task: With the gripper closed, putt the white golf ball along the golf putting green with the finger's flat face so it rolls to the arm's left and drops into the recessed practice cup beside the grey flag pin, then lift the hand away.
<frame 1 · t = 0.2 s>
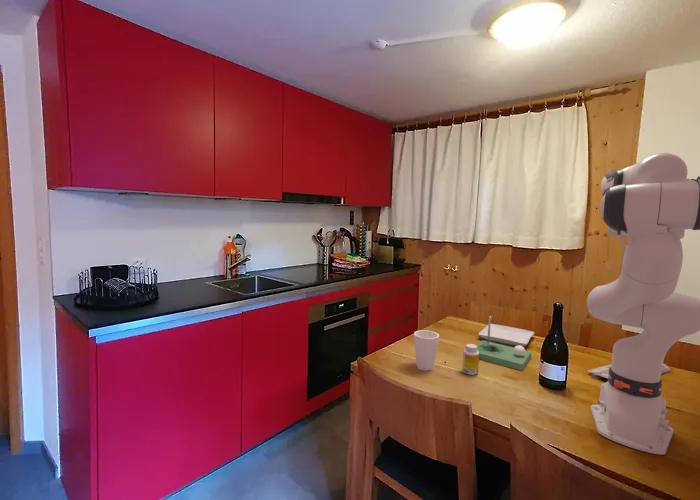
hand: (641, 250, 122), 47 cm above the table, fingers open, 8 cm apart
golf putting green: (500, 357, 146), on the table
supplement bottle: (470, 372, 132), on the table
flag pin: (487, 348, 156), resting on golf putting green
ball: (519, 350, 142), point 5 cm above the table, touching golf putting green
foam cup: (425, 367, 136), on the table
salad plate: (506, 339, 168), on the table
newspaper: (628, 374, 134), on the table
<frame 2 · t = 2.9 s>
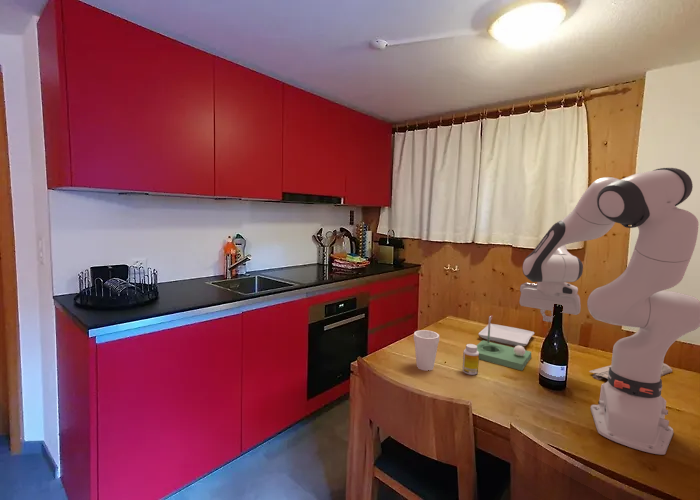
hand: (547, 321, 135), 19 cm above the table, fingers closed
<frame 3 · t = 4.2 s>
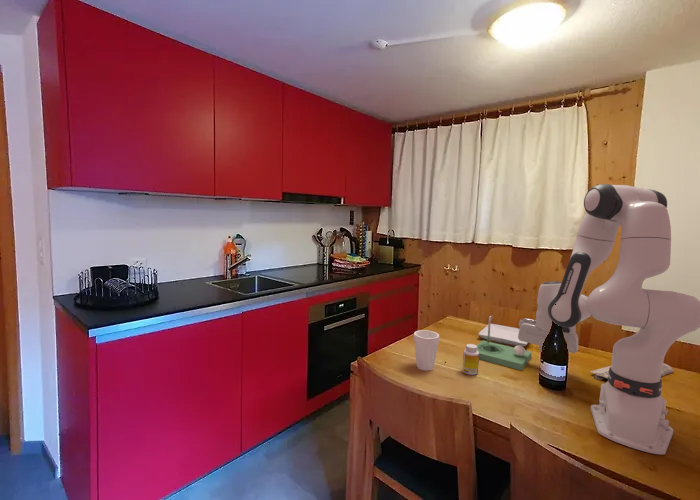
hand: (545, 357, 137), 4 cm above the table, fingers closed
nothing on the table moved.
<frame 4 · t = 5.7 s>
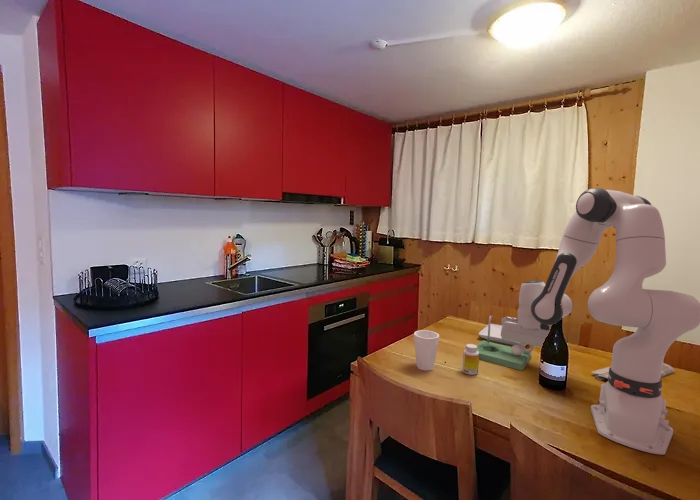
hand: (527, 354, 140), 4 cm above the table, fingers closed
ball: (516, 350, 142), point 5 cm above the table, tilted 25°, touching golf putting green
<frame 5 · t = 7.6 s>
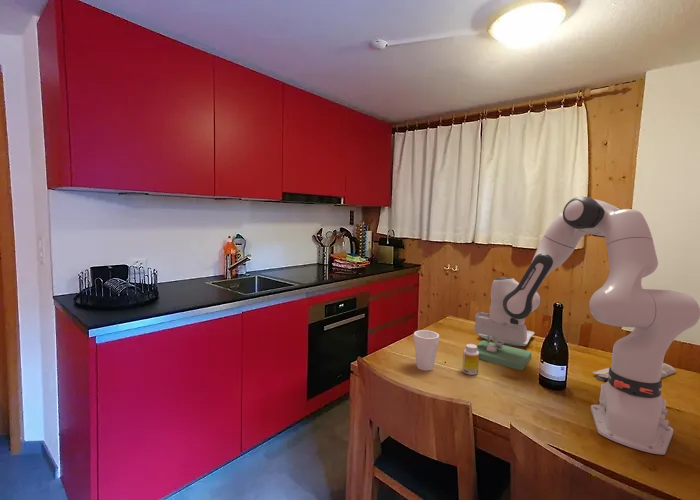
hand: (498, 347, 147), 4 cm above the table, fingers closed
ball: (491, 349, 149), point 2 cm above the table, tilted 43°, touching gripper
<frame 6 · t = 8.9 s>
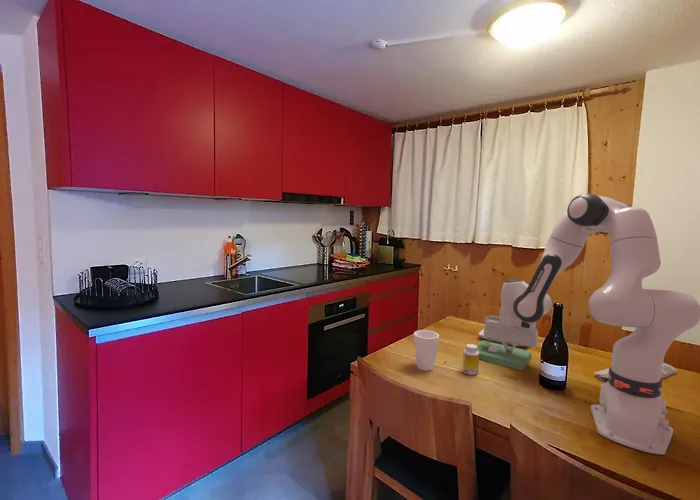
hand: (508, 352, 143), 3 cm above the table, fingers closed
ball: (493, 350, 148), point 2 cm above the table, tilted 67°
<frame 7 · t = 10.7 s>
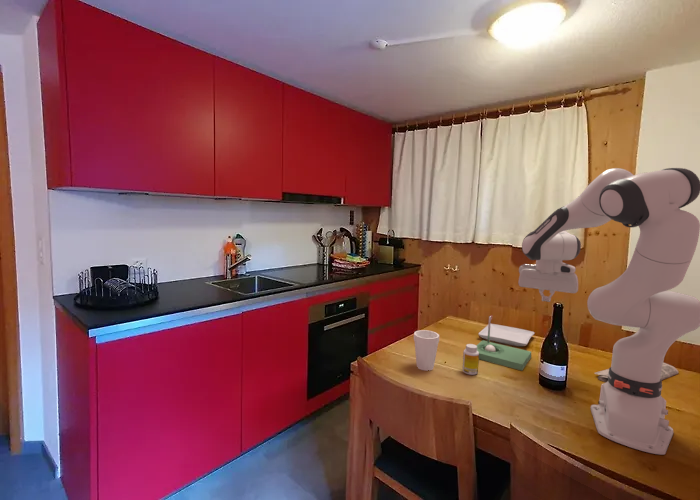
hand: (546, 301, 137), 26 cm above the table, fingers closed
ball: (490, 349, 148), point 2 cm above the table, tilted 33°
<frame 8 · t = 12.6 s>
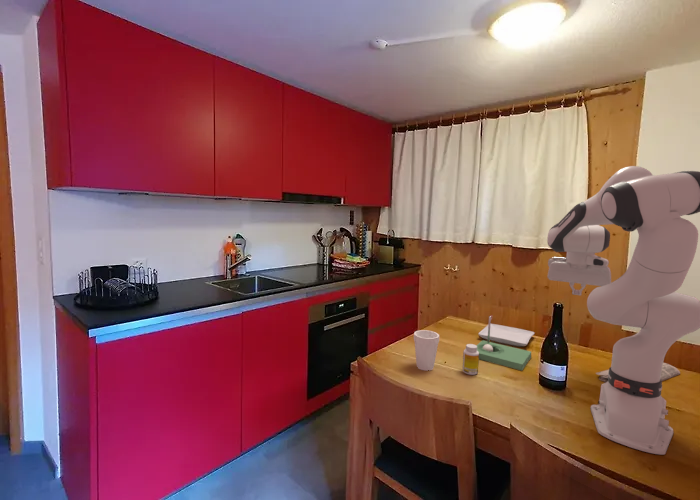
hand: (576, 294, 134), 29 cm above the table, fingers closed
ball: (487, 349, 149), point 2 cm above the table, tilted 10°
at the end: ball 1.1 cm from the target spot on the golf putting green, point 2.1 cm above the golf putting green's base; ball point 2.1 cm above the table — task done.
